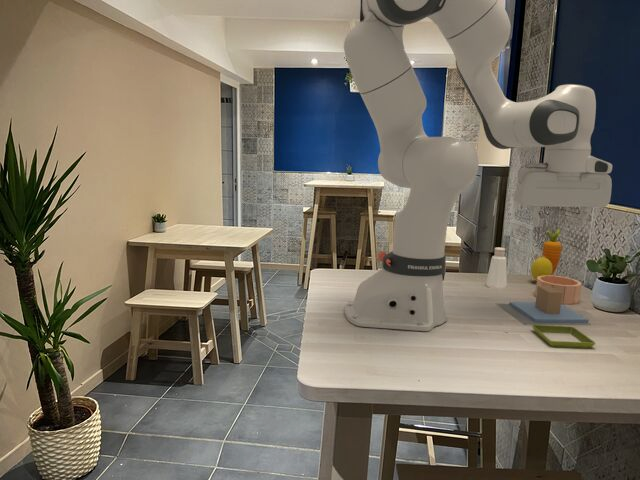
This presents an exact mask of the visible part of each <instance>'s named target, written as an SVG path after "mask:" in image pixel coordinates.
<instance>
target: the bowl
mask: <svg viewBox="0 0 640 480" xmlns="http://www.w3.org/2000/svg"><path fill="white" fill-rule="evenodd" d="M538 286H551V287H552V288H554V289H556V290H558V291H560V292H562V300H561V304H562V305H576V304H578V303H580V298H581V297H580V296H581V291H582V282H581V281H579V280H577V279H574V278H571V277H566V276H559V275H543V276H538V277H537V280H536V285H535V287H536V288H535V295H534V296H535V297H536V296H537V288H538Z"/></svg>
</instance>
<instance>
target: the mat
mask: <svg viewBox="0 0 640 480" xmlns="http://www.w3.org/2000/svg"><path fill="white" fill-rule="evenodd" d="M496 306H498V307H499V308H501V310H503V311H504V312H505V313H507V314H509V315H510V316H512V317H513V318H514V319H516V320H517V321H519V322H520V323H521V324H523V325H528V326H529V325H530V326H532V325H549V326H592V324H591V323H589V322H588V323H535V322H533V321H532V320H530V319H529V318H528V317H526V316H525V315H523V314H522V313H520V312H519V311H517V310H516V309H514V308H513V307H512V306H510V305H509V303H496Z"/></svg>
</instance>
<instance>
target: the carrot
mask: <svg viewBox="0 0 640 480" xmlns="http://www.w3.org/2000/svg"><path fill="white" fill-rule="evenodd" d="M560 232H561V229H559V228H557V230H556V231H555V233H554V234H551V232H550V230H546V233H547V235H548V237H549V240H546V241H544V243H543V245H542V256H544V257H545V258H547V259H548V260H549V261H550V262H551V263H552V268H553V270H552V275H553V274H555V272H556V270H557V268H558V265H559V264H560V258H561V254H562V247H563V244H562V243H561V242H560V241H558V240H557V239H558V237H559V235H560ZM553 276H554V275H553Z"/></svg>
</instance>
